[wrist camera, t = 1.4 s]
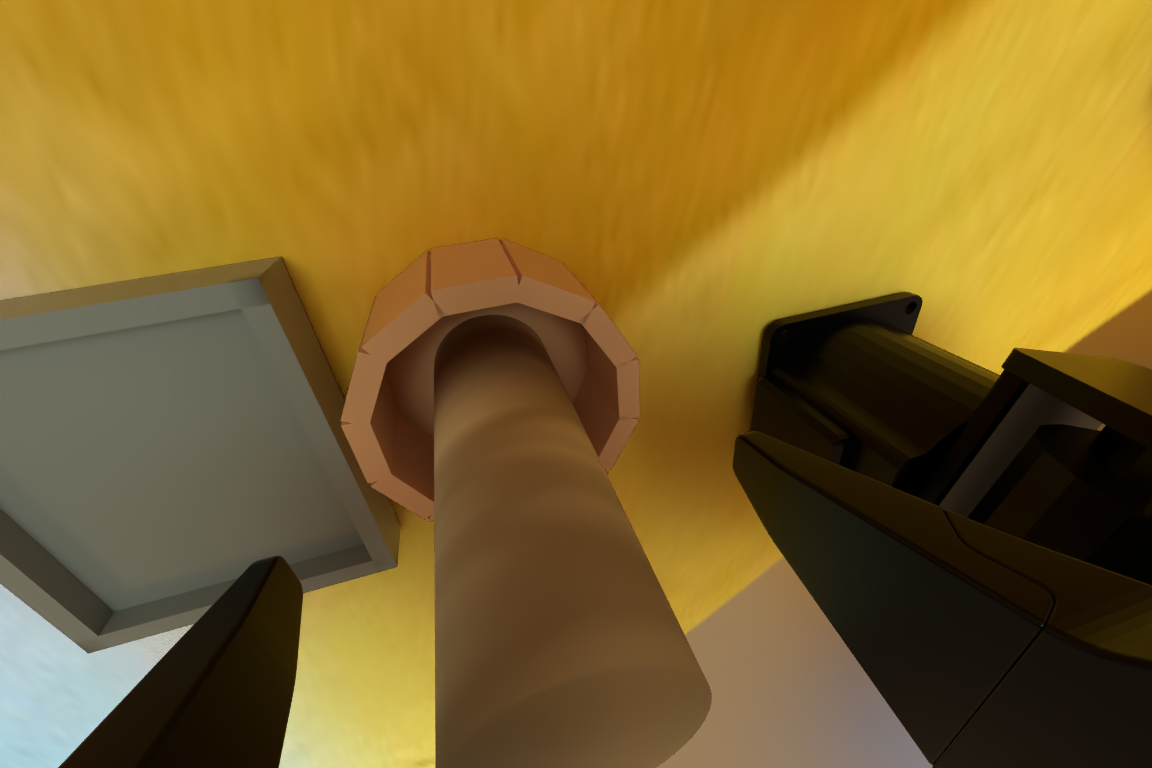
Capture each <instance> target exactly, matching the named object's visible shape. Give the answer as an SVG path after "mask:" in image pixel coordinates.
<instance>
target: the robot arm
mask: <svg viewBox="0 0 1152 768" xmlns="http://www.w3.org/2000/svg"><path fill="white" fill-rule="evenodd" d="M921 306H922V298H921V297H920V296H918V295H916V294H913V293H910V292H904V293H899V294H895V295H890V296H885V297H881V298H876V299H872V300H867V301H863V302H858V303H853V304H849V305H844V306H840V307H835V308H830V309H826V310H821V311H817V312H812V313H808V314H803V315H798V316H794V317H789V318H785V319H780V320H777V321H774V322H773V323H771V324H770V325H769V326H768V328H767V329H766V331H765V334H764V339H763V346H762V353H761V360H760V368H759V375H758V382H757V388H756V395H755V402H754V409H753V416H752V424H751V431H750V432H748V433H744V434H740V435H738V436H737V438H736V440H735V447H734V456H733V470H734V473H735V475H736V477H737V479H738V481H739V482H740V484H741V486H742V488H743V490H744V491H745V493H746V495H747V497H748V499H749V500H750V502H751V504H752V506H753V508H754V509H755V511H756V513H757V515H758V516H759V518H760V520H761V522H762V524H763V525H764V527H765V529H766V530H767V532H768V534H769V535H770V537H771V538H772V540H773V541H774V543H775V544H776V546H777V547H778V549H779V550H780V552H781V553H782V554H783V556H784V557H785V559H786V560H787V562H788V563H789V564H790V566H791V567H792V569H793V570H794V571H795V573H796V574H797V576H798V577H799V579H800V580H801V581H802V583H803V584H804V586H805V587H806V588H807V590H808V591H809V593H810V594H811V595H812V597H813V598H814V600H815V601H816V603H817V604H818V605H819V607H820V608H821V610H822V611H823V612H824V614H825V615H826V617H827V618H828V620H829V621H830V623H831V624H832V625H833V627H834V628H835V630H836V631H837V632H838V634H839V635H840V636H841V638H842V640H843V641H844V642H845V644H846V645H847V647H848V648H849V649H850V651H851V652H852V654H853V655H854V657H855V658H856V659H857V661H858V662H859V664H860V665H861V666H862V668H863V669H864V671H865V672H866V674H867V675H868V676H869V678H870V679H871V681H872V682H873V684H874V685H875V686H876V688H877V689H878V691H879V692H880V693H881V695H882V696H883V698H884V699H885V701H886V702H887V703H888V705H889V706H890V708H891V709H892V710H893V712H894V713H895V715H896V716H897V718H898V719H899V720H900V722H901V723H902V725H903V726H904V727H905V729H906V730H907V732H908V733H909V735H910V736H911V737H912V739H913V740H914V742H915V743H916V744H917V746H918V747H919V749H920V750H921V751H922V753H923V754H924V756H925V757H926V759H927V760H928V762H929V763H930V764H932V765H933V766H932V767H933V768H1152V369H1149V368H1146V367H1143V366H1139V365H1136V364H1133V363H1130V362H1127V361H1123V360H1120V359H1116V358H1110V357H1100V356H1089V355H1081V354H1071V353H1061V352H1052V351H1042V350H1033V349H1023V348H1014V349H1013V350H1012V352H1011V353H1010V355H1009V356H1008V358H1007V359H1006V360H1005V362H1004V363H1003V365H1002V366H1001V367H1002V368H1003V369H1004V371H1003V372H1002V374H1001V375H998V374H996V373H994V372H992V371H989V370H987V369H985V368H983V367H981V366H979V365H976V364H974V363H972V362H970V361H968V360H965V359H963V358H961V357H959V356H957V355H955V354H952V353H950V352H948V351H946V350H944V349H941V348H939V347H937V346H935V345H933V344H930V343H928V342H926V341H924V340H922V339H920V338H917V337H915V336H913V335H912V333H913V330H914V327H915V324H916V321H917V318H918V315H919V312H920V309H921ZM780 332H782V333H781V335H780V336H779V337H778V335H779V333H780ZM777 337H778V338H777ZM1102 423H1103V424H1105V425H1106V426H1105V427H1104V428H1103V430H1102V431H1098V430H1097V428H1098V427H1099V426H1100V425H1101V424H1102ZM302 601H303V589H302V585H301V582H300V580H299V579H298V577H297V576H296V575H295V573H294V572H293V570H292V569H291V567H290V566H289V564H288V563H287V561H286V560H285V559H284V558H283V557H282V556H273V557H269V558H265V559H261V560H258V561H255V562H254V563H252V564H251V565H250V566H249V567H248V568H247V569H246V570H245V571H244V572H243V573H242V574H241V575H240V577H239V578H238V579H237V580H236V581H235V582H234V583H233V584H232V585H231V586H230V587H229V588H228V589H227V590H226V591H225V592H224V593H223V594H222V595H221V597H220V598H219V599H218V600H217V601H216V602H215V603H214V604H213V605H212V606H211V607H210V608H209V609H208V610H207V611H206V612H205V613H204V614H203V616H202V617H201V618H200V619H199V620H198V621H197V622H196V623H195V624H194V625H193V626H192V627H191V628H190V629H189V630H188V631H187V632H186V633H185V635H184V636H183V637H182V638H181V639H180V640H179V641H178V642H177V643H176V644H175V645H174V646H173V647H172V648H171V649H170V650H169V651H168V652H167V654H166V655H165V656H164V657H163V658H162V659H161V660H160V661H159V662H158V663H157V664H156V665H155V666H154V667H153V668H152V669H151V670H150V671H149V673H148V674H147V675H146V676H145V677H144V678H143V679H142V680H141V681H140V682H139V683H138V684H137V685H136V686H135V687H134V688H133V689H132V690H131V692H130V693H129V694H128V695H127V696H126V697H125V698H124V699H123V700H122V701H121V702H120V703H119V704H118V705H117V706H116V707H115V708H114V709H113V710H112V712H111V713H110V714H109V715H108V716H107V717H106V718H105V719H104V720H103V721H102V722H101V723H100V724H99V725H98V726H97V727H96V728H95V729H94V731H93V732H92V733H91V734H90V735H89V736H88V737H87V738H86V739H85V740H84V741H83V742H82V743H81V744H80V745H79V746H78V747H77V748H76V750H75V751H74V752H73V753H72V754H71V755H70V756H69V757H68V758H67V759H66V760H65V761H64V762H63V763H62V764H61V765H60V766H59V767H58V768H279V763H280V758H281V753H282V748H283V743H284V738H285V733H286V728H287V722H288V717H289V712H290V707H291V702H292V697H293V691H294V686H295V679H296V670H297V660H298V648H299V636H300V625H301V613H302Z"/></svg>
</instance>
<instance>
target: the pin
mask: <svg viewBox="0 0 1152 768" xmlns="http://www.w3.org/2000/svg"><path fill="white" fill-rule="evenodd" d="M434 520H435V730H436V768H656V767H657V766H659V765H660V764H662V763H663V762H664V761H666V760H667V759H668V758H670V757H671V756H672V755H674V754H675V753H676V752H677V751H678V750H679V749H680V748H682V747H683V746H684V745H685V744H686V743H687V742H688V741H689V740H690V738H692V736H693V735H694V734H695V733H696V732H697V730H698V729H699V728H700V726H701V725H702V723H703V722H704V720H705V718H706V716H707V714H708V712H709V709H710V705H711V690H710V687H709V685H708V683H707V681H706V678H705V676H704V674H703V672H702V670H701V668H700V666H699V664H698V662H697V660H696V658H695V656H694V654H693V652H692V650H691V648H690V646H689V643H688V641H687V639H686V637H685V635H684V633H683V631H682V629H681V627H680V625H679V623H678V621H677V619H676V617H675V615H674V612H673V610H672V608H671V606H670V604H669V602H668V600H667V598H666V596H665V594H664V592H663V590H662V588H661V586H660V584H659V582H658V579H657V577H656V575H655V573H654V571H653V569H652V567H651V565H650V563H649V561H648V559H647V557H646V555H645V553H644V551H643V549H642V546H641V544H640V542H639V540H638V538H637V536H636V534H635V532H634V530H633V528H632V526H631V524H630V522H629V520H628V518H627V516H626V513H625V511H624V509H623V507H622V505H621V503H620V501H619V499H618V497H617V495H616V493H615V491H614V489H613V487H612V485H611V483H610V480H609V478H608V476H607V474H606V472H605V470H604V468H603V466H602V464H601V462H600V460H599V458H598V456H597V454H596V452H595V450H594V447H593V445H592V443H591V441H590V439H589V437H588V435H587V433H586V431H585V429H584V427H583V425H582V423H581V421H580V419H579V417H578V414H577V412H576V410H575V408H574V406H573V404H572V402H571V400H570V398H569V396H568V394H567V392H566V390H565V388H564V386H563V384H562V381H561V379H560V377H559V375H558V373H557V371H556V369H555V367H554V365H553V363H552V361H551V359H550V357H549V355H548V353H547V351H546V349H545V346H544V344H543V342H542V341H541V339H540V337H539V336H538V335H537V333H536V332H535V331H534V330H533V329H532V328H531V327H529V326H528V325H527V324H525V323H523V322H522V321H520V320H517V319H515V318H512V317H509V316H504V315H482V316H478V317H474V318H471V319H468V320H466V321H464V322H462V323H460V324H459V325H457V326H456V327H454V328H453V329H452V330H451V331H450V332H449V333H448V334H447V335H446V336H445V337H444V339H443V340H442V341H441V343H440V345H439V347H438V349H437V352H436V355H435V359H434Z"/></svg>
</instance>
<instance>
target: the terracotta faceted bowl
mask: <svg viewBox="0 0 1152 768" xmlns="http://www.w3.org/2000/svg"><path fill="white" fill-rule="evenodd" d="M482 315H504V316H509V317H512V318H515V319H517V320H520V321H522V322H523V323H525V324H527V325H528V326H529V327H531V328H532V329H533V330H534V331H535V332H536V333H537V335H538V336H539V337H540V339H541V341H542V342H543V344H544V346H545V349H546V351H547V353H548V355H549V357H550V359H551V361H552V363H553V365H554V367H555V369H556V371H557V373H558V375H559V377H560V379H561V381H562V384H563V386H564V388H565V390H566V392H567V394H568V396H569V398H570V400H571V402H572V404H573V406H574V408H575V410H576V412H577V414H578V417H579V419H580V421H581V423H582V425H583V427H584V429H585V431H586V433H587V435H588V437H589V439H590V441H591V443H592V445H593V447H594V450H595V452H596V454H597V456H598V458H599V460H600V462H601V464H602V466H603V468H604V470H605V472H606V474H608V471H607V470H612V468H613V466H614V464H615V463H616V461H617V459H618V457H619V456H620V454H621V452H622V450H623V448H624V447H625V445H626V443H627V441H628V439H629V438H630V436H631V434H632V432H633V430H634V429H635V427H636V425H637V423H638V421H639V419H638V418H637V417H640V391H639V359H638V358H637V357H636V356H637V354H636V353H635V352H634V350H633V349H632V348H631V346H630V345H629V344H628V342H627V341H626V340H625V338H624V337H623V335H622V334H621V333H620V331H619V330H618V329H617V327H616V326H615V325H614V323H613V322H612V321H611V319H610V318H609V317H608V315H607V314H606V313H605V311H604V310H603V309H602V307H601V306H600V305H599V303H598V302H597V301H596V300H595V299H594V298H593V297H592V295H591V294H590V293H589V292H588V291H587V290H586V289H585V288H584V286H583V285H582V284H581V283H580V282H579V281H578V280H577V279H576V277H575V276H574V275H573V274H572V273H571V272H570V271H569V269H568V268H567V267H566V266H565V265H564V264H562V263H561V262H560V261H559V260H556V259H554V258H551V257H548V256H546V255H543V254H541V253H538V252H536V251H533V250H530V249H528V248H525V247H523V246H520V245H517V244H515V243H512V242H510V241H507V240H505V239H501V242H499V240H498V238H494V239H488V240H482V241H476V242H469V243H463V244H457V245H451V246H445V247H439V248H433V249H431V254H430V253H429V252H428V251H426V252H425V253H424V254H422V255H421V256H420V257H419V258H418V259H417V260H415V261H414V262H413V263H412V264H411V265H410V266H408V267H407V268H406V269H405V270H404V271H403V272H402V273H400V274H399V275H398V276H397V277H396V278H395V279H393V280H392V281H391V282H390V283H389V284H388V285H386V286H385V287H384V288H383V289H382V290H381V291H379V292H378V294H377V297H375V300H374V303H373V306H372V309H371V312H370V315H369V319H368V322H367V325H366V328H365V331H364V334H363V338H362V341H361V344H360V347H359V350H358V354H357V358H356V362H355V366H354V370H353V373H352V377H351V381H350V385H349V389H348V393H347V397H346V401H345V405H344V409H343V413H342V417H341V421H342V424H341V427H342V429H343V431H344V433H345V436H346V438H347V440H348V442H349V444H350V446H351V448H352V451H353V453H354V455H355V457H356V459H357V461H358V464H359V466H360V468H361V470H362V472H363V474H364V476H365V479H366V481H367V483H371V487H372V488H374V489H375V490H377V491H379V492H380V493H382V494H383V495H385V496H387V497H388V498H390V499H392V500H393V501H395V502H397V503H398V504H400V505H401V506H403V507H405V508H406V509H408V510H410V511H411V512H413V513H414V514H416V515H418V516H419V517H421V518H423V519H424V520H425V519H426V518H428V517H429V521H432V522H435V520H434V359H435V355H436V352H437V349H438V347H439V345H440V343H441V341H442V340H443V339H444V337H445V336H446V335H447V334H448V333H449V332H450V331H451V330H452V329H453V328H454V327H456V326H457V325H459V324H460V323H462V322H464V321H466V320H468V319H471V318H474V317H478V316H482Z"/></svg>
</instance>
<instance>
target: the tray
mask: <svg viewBox="0 0 1152 768" xmlns="http://www.w3.org/2000/svg"><path fill="white" fill-rule="evenodd" d="M344 405H345V400H344V398H343V395H342V393H341V391H340V389H339V386H338V384H337V382H336V380H335V377H334V375H333V373H332V371H331V368H330V366H329V364H328V362H327V359H326V357H325V355H324V353H323V350H322V348H321V346H320V344H319V341H318V339H317V337H316V335H315V332H314V330H313V328H312V325H311V323H310V321H309V319H308V316H307V314H306V312H305V310H304V307H303V305H302V303H301V301H300V298H299V296H298V294H297V292H296V289H295V287H294V285H293V283H292V280H291V278H290V276H289V274H288V271H287V269H286V267H285V265H284V262H283V260H282V258H281V257H274V258H268V259H262V260H255V261H249V262H243V263H236V264H230V265H223V266H217V267H211V268H204V269H198V270H191V271H185V272H179V273H172V274H166V275H160V276H153V277H147V278H140V279H134V280H128V281H121V282H115V283H108V284H102V285H96V286H89V287H83V288H77V289H70V290H64V291H57V292H51V293H45V294H38V295H32V296H25V297H19V298H13V299H6V300H0V584H2V585H3V586H4V587H5V588H7V589H8V590H9V591H10V592H12V593H13V594H14V595H15V596H17V597H18V598H19V599H20V600H22V601H23V602H24V603H25V604H27V605H28V606H29V607H30V608H32V609H33V610H34V611H36V612H37V613H38V614H39V615H41V616H42V617H43V618H44V619H46V620H47V621H48V622H49V623H51V624H52V625H53V626H54V627H56V628H57V629H58V630H59V631H61V632H62V633H63V634H65V635H66V636H67V637H68V638H70V639H71V640H72V641H73V642H75V643H76V644H77V645H78V646H80V647H81V648H82V649H83V650H85V651H86V652H87V653H92V652H95V651H99V650H102V649H106V648H109V647H113V646H117V645H120V644H124V643H127V642H131V641H134V640H138V639H142V638H145V637H149V636H152V635H156V634H159V633H163V632H167V631H170V630H174V629H177V628H181V627H184V626H188V625H192V624H195V623H196V622H197V621H198V620H199V619H200V618H201V617H202V616H203V614H204V613H205V612H206V611H207V610H208V609H209V608H210V607H211V606H212V605H213V604H214V603H215V602H216V601H217V600H218V599H219V598H220V597H221V595H222V594H223V593H224V592H225V591H226V590H227V589H228V588H229V587H230V586H231V585H232V584H233V583H234V582H235V581H236V580H237V579H238V578H239V577H240V575H241V574H242V573H243V572H244V571H245V570H246V569H247V568H248V567H249V566H250V565H251V564H252V563H254V562H255V561H258V560H261V559H265V558H269V557H273V556H282V557H283V558H284V559H285V560H286V561H287V563H288V564H289V566H290V567H291V569H292V570H293V572H294V573H295V575H296V576H297V577H298V579H299V580H300V582H301V585H302V589H303V593H306V592H309V591H313V590H317V589H320V588H324V587H327V586H331V585H334V584H338V583H342V582H345V581H349V580H352V579H356V578H359V577H363V576H367V575H370V574H374V573H377V572H381V571H384V570H388V569H391V568H395V567H397V565H398V552H399V539H400V524H399V522H398V520H397V517H396V515H395V513H394V511H393V508H392V506H391V504H390V502H389V499H388V497H387V496H385V495H383V494H382V493H380V492H379V491H377V490H375V489H374V488H372V487H371V483H367V481H366V479H365V476H364V474H363V472H362V470H361V468H360V466H359V464H358V461H357V459H356V457H355V455H354V453H353V451H352V448H351V446H350V444H349V442H348V440H347V438H346V436H345V433H344V431H343V429H342V427H341V424H342V421H341V417H342V413H343V409H344Z"/></svg>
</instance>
